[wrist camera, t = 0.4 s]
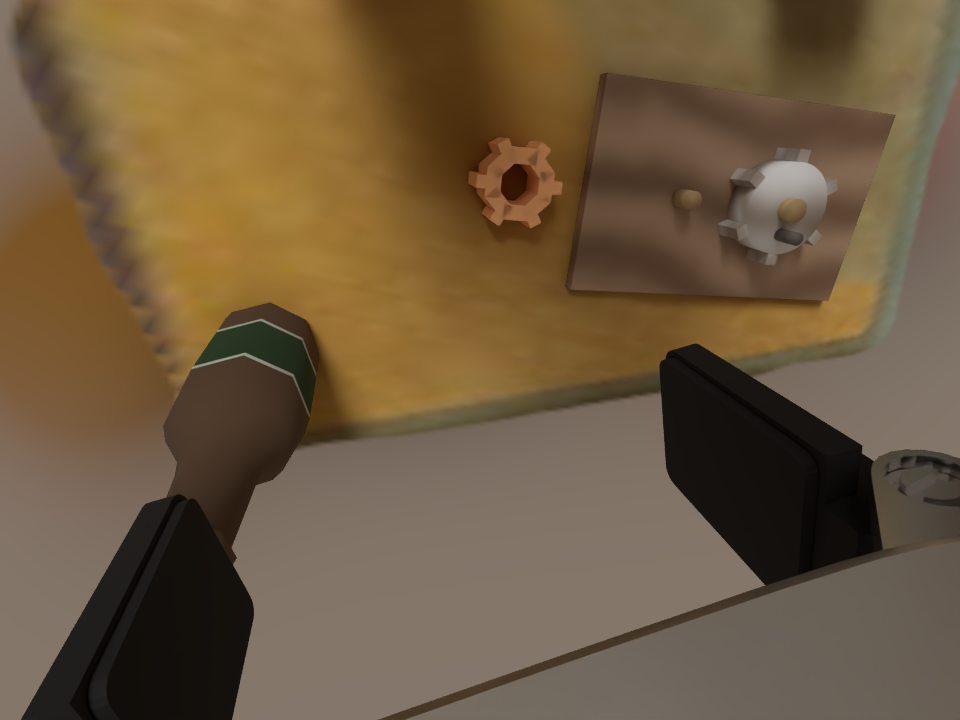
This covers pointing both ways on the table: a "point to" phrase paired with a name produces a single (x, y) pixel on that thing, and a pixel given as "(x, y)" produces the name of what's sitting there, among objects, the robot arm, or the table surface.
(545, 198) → the terracotta gear
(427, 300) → the table surface
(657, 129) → the gear board
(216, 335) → the beer bottle
